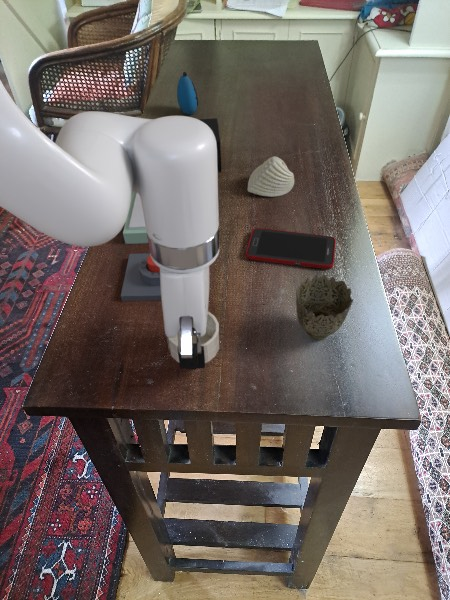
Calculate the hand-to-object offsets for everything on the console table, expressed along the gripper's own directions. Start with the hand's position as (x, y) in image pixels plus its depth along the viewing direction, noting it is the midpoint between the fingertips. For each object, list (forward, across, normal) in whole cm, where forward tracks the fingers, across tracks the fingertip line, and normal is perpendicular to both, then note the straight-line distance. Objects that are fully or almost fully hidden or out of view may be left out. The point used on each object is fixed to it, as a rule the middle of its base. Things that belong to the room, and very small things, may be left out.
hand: (193, 342), depth 61 cm
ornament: (-2, -76, -5) cm, 76 cm away
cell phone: (+3, -22, +16) cm, 27 cm away
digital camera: (+3, -53, +1) cm, 53 cm away
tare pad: (+3, -16, -6) cm, 18 cm away
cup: (+3, -4, +18) cm, 18 cm away
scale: (+3, -32, -6) cm, 33 cm away
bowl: (+1, 0, 0) cm, 1 cm away
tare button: (+1, -16, -7) cm, 17 cm away
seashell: (+3, -42, +14) cm, 44 cm away
